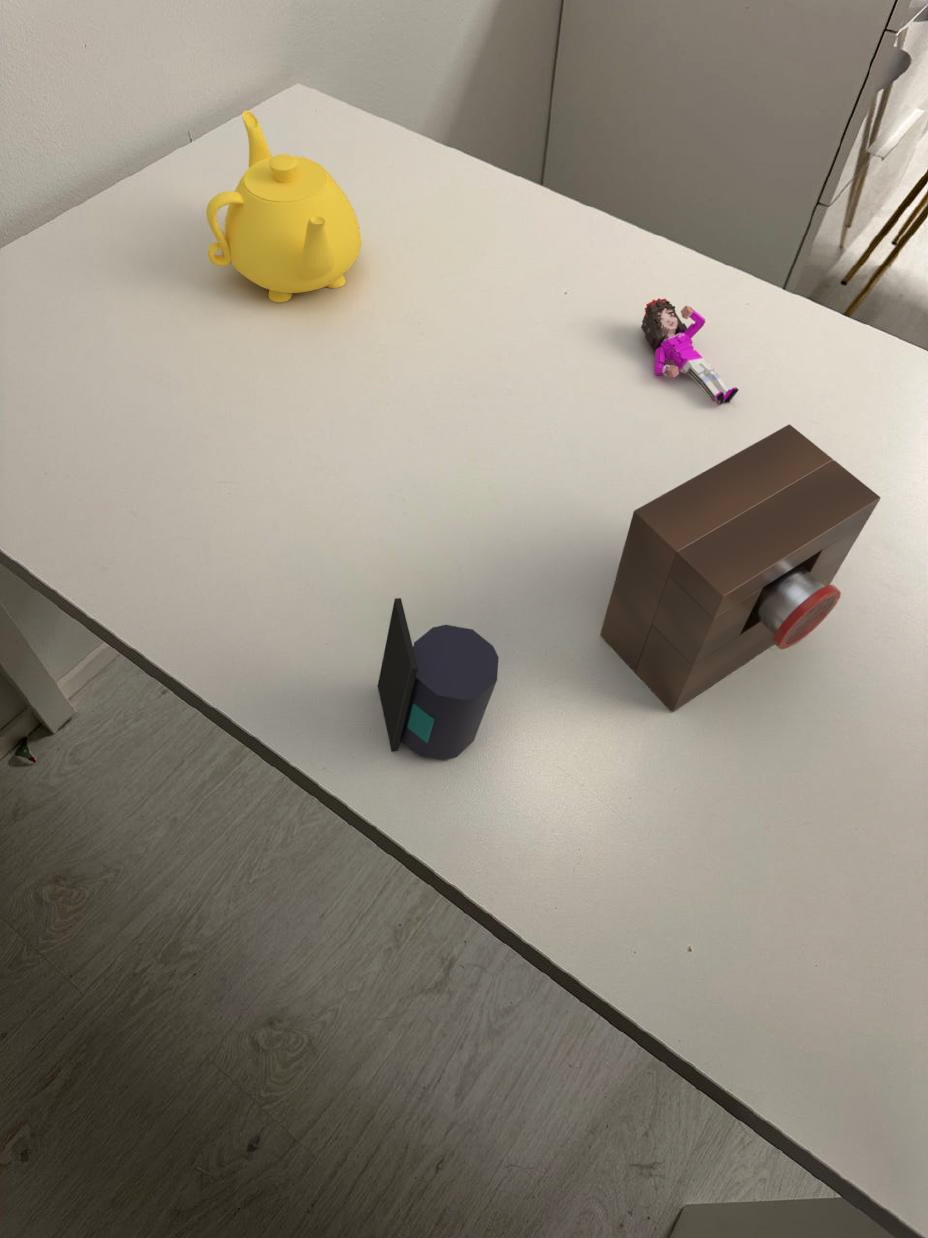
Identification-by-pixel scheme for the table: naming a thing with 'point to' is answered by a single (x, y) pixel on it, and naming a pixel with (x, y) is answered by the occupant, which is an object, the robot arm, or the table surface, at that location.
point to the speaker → (435, 686)
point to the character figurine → (681, 348)
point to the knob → (794, 605)
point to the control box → (727, 560)
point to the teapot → (285, 223)
